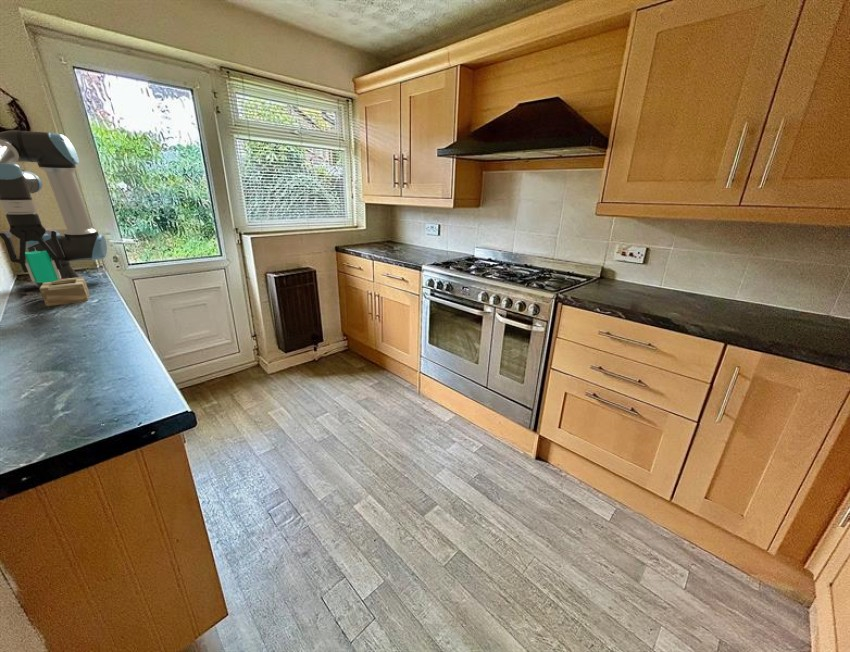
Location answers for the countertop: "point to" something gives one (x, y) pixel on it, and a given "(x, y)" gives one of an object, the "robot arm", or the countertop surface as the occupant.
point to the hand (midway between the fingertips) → (47, 279)
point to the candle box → (65, 291)
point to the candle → (41, 266)
